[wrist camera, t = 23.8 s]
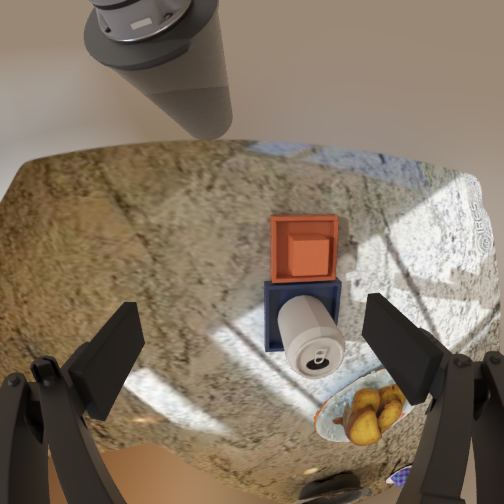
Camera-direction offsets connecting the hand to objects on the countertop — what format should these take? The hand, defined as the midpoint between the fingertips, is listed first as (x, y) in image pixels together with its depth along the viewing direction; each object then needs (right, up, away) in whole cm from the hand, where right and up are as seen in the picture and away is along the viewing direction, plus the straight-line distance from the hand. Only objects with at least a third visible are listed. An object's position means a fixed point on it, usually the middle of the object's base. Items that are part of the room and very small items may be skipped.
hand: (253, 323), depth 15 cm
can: (+7, -6, +27) cm, 29 cm away
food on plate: (+25, -28, +34) cm, 50 cm away
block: (+7, +4, +24) cm, 26 cm away
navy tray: (+7, -6, +27) cm, 29 cm away
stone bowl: (+23, -67, +44) cm, 83 cm away
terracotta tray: (+7, +5, +25) cm, 26 cm away
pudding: (+52, -74, +46) cm, 101 cm away
